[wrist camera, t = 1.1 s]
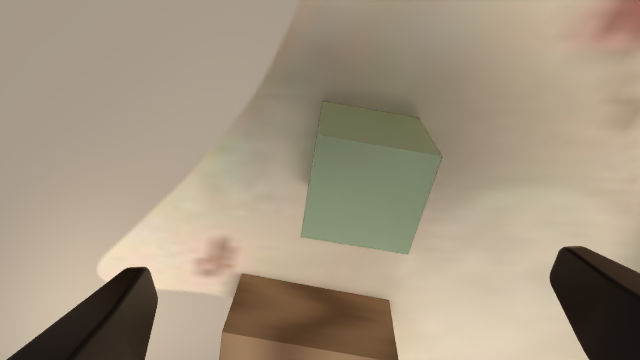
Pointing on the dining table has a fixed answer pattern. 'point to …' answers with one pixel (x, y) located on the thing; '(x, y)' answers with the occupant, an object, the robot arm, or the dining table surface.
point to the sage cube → (369, 178)
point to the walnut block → (305, 324)
